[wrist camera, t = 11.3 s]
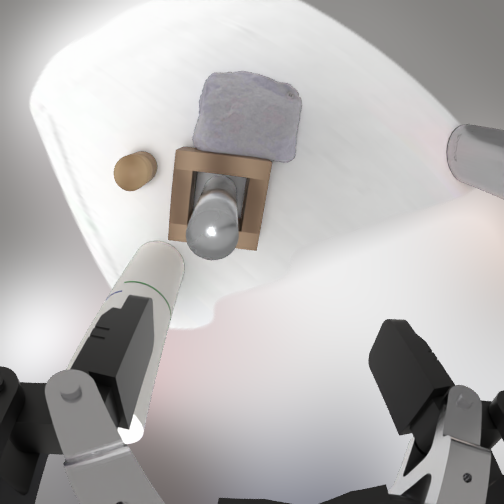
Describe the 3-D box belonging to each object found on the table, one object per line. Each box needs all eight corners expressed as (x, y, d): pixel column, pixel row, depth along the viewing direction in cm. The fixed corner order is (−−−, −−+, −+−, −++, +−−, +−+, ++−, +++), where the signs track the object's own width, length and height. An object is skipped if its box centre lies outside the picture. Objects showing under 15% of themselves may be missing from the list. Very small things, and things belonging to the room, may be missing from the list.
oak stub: (158, 152, 34) (148, 156, 30) (155, 184, 36) (146, 192, 32) (127, 150, 34) (114, 154, 30) (125, 181, 35) (113, 189, 31)
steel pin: (238, 177, 36) (242, 214, 22) (233, 209, 38) (234, 263, 24) (205, 173, 36) (188, 207, 22) (201, 205, 37) (183, 256, 23)
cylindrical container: (124, 253, 39) (36, 392, 16) (168, 232, 38) (98, 378, 15) (150, 295, 42) (96, 446, 19) (193, 277, 41) (162, 439, 18)
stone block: (203, 77, 32) (192, 154, 34) (202, 63, 28) (188, 150, 30) (298, 91, 34) (290, 166, 36) (309, 79, 30) (300, 163, 32)
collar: (267, 157, 35) (272, 162, 31) (253, 235, 39) (256, 250, 34) (183, 146, 34) (175, 150, 29) (175, 225, 38) (168, 239, 33)
